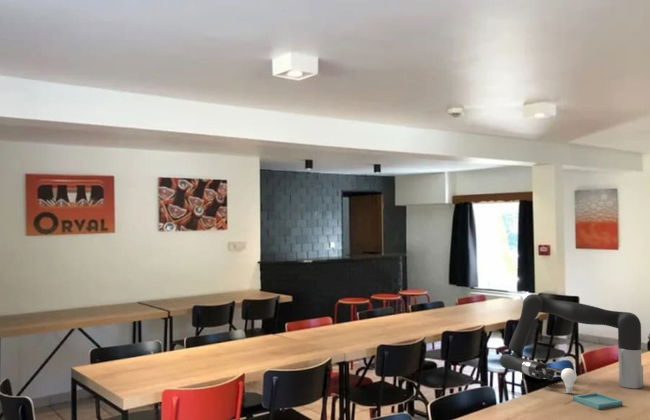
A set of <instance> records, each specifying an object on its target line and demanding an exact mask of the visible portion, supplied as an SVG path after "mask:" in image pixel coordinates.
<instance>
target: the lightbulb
mask: <svg viewBox="0 0 650 420" xmlns="http://www.w3.org/2000/svg"><path fill="white" fill-rule="evenodd" d="M561 370H562V372H561V377H560V378H561V380H562V381H563V383H564V386H565V393H566V394H568V395H570V394H573V386H574V383H575V382H576V380H577V376H578V375H577V373H576V371H575V370H574V369H572V368H570V367H566V368H564V369H561Z"/></svg>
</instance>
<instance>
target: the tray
mask: <svg viewBox="0 0 650 420" xmlns="http://www.w3.org/2000/svg"><path fill="white" fill-rule="evenodd" d="M572 401H573V402H576V403H579V404H582V405H583V406H584V405H585V406H588V407H590V408H592V409H596V410H604V409H612V408H617V407H623V400H621V399H618V398H614V397H612V396H608V395H605V394H602V393H599V392H591V393H590V392H589V393H583V394H582V393H581V394H575V395H572Z"/></svg>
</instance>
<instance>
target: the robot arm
mask: <svg viewBox="0 0 650 420" xmlns="http://www.w3.org/2000/svg"><path fill="white" fill-rule="evenodd" d="M539 313H540V314H548V315H554V316H556V317H559V318H562V319H563V320H567V321H570V322H575V323H578V324H584V325H591V326H592V325H593V326H595V325H597V326H606V327H607V326H608V327H610V328H611V327H612V328H615V329H617V341H618V342H617V343H618V344H617V348H618V354H617V355H618V385H619V386H620V387H623V388H626V389H642V388H643V387H644V366H643V364H642V323H641V321H640V319H639V317H638V316H637V315H636V314H635V313H633V312H626V311H616V310H609V309H603V308H601V307H596V306H592V305H590V304H585V303H580V302H574V301H569V300H558V299H552V298H549V297H545V296H543V295H542V296H541V295H538V294H537V293H536V294H534V293H533V294H532V293H531V294H528V295H527V296H526V297H525V298H524V299H523V301H522V309H521V314H520V317H519V320H518V323H517V326H516V328H515V330H514V331H513V333H512V337H511V339H510V341H509V344H508V348H509V350H510V351H512V352H513V353H512V354H509V353H504V354H502V355H501V356H500V358H499V364H500V365H501V367H503V368H504V369H506V370H511V371H515V372H519V373H520V374H521V373H522V374H523V375H527V376H529V377H531V378H534V379H537V380H542V379H544V380H545V379H546V380H549V381H554V378H557V377H560V378H561V372H562V370H563V369H560V368H556V367H553V368H550V367H547V366H546V364H544V362H540V361H537V360H532V359H528V358H523V356H524V350H525V349H524V348H525V346H526V345H527V341H528V339H529V335H530V332H531V329H532V326H533V324H534V322H535V320H536V318H537V316H538V315H539Z"/></svg>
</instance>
